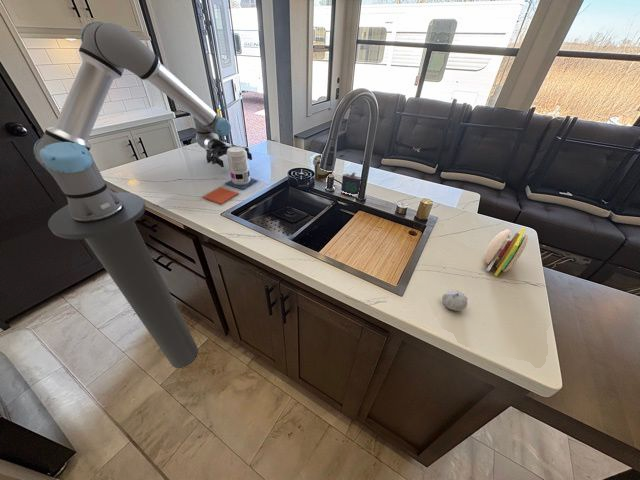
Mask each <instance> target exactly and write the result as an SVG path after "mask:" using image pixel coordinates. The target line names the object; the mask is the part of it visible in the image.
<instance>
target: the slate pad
mask: <svg viewBox="0 0 640 480" xmlns="http://www.w3.org/2000/svg"><path fill="white" fill-rule="evenodd" d="M257 182H258V180H257V179H254V178H251V177H250V181H249V183H247V184H245V185H236V184H234V183H233V182H232V179H230V180H229V181H226V183H224V184H225V185H227V186H229V187H233V188H235V189H239V190H243V191H244V190H245V189H247V188H249V187H250V186H252V185H253V184H255V183H257Z"/></svg>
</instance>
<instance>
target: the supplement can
mask: <svg viewBox="0 0 640 480" xmlns="http://www.w3.org/2000/svg"><path fill="white" fill-rule="evenodd" d="M243 147H244V146H241V147H240V145H236V146H234V147H231V146H230V148H228V149H227V155H226V158H227V162H228V167H229V168H228V169H229V174H230V178H231V179H230V180H232V182H233V183H234V184H236V185H245V184H247V183H249V181H250V178H251V174H250V167H249V159H248V158H247V152H246V150H245V149H244V148H243Z"/></svg>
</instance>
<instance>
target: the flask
mask: <svg viewBox="0 0 640 480" xmlns="http://www.w3.org/2000/svg"><path fill="white" fill-rule="evenodd" d="M356 174H357V173H356V172H352V173H351V174H350V173H344V174H343V175H342V180H341V188H340V195H343V196H345V197H350V198H353V197H352V195H349V194H345V193H342V192H341V190H342V191H344V192H347V193H351V194H358V192H359V188H360V181H361V177H362V176H357V175H356Z"/></svg>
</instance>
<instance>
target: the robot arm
mask: <svg viewBox="0 0 640 480" xmlns="http://www.w3.org/2000/svg"><path fill="white" fill-rule="evenodd" d="M80 41H81V44H80V46H79V49H78V51H77V53H78V55H79V57H80V59H81V62H80V64H79V67H78V69H77V71H76V74H75V77H74V79H73V82H72V83H71V86H70V88H69V91H68V94H67V95H66V98H65V101H64V103H63V105H62V107H61V110H60V112H59V115H58V117H57V120H56V122H55V125H54V126H51V127H46V128H45V130H44V132H43V135H42V137H41V138H39V139H38V140H37V141H36V142H35V143H34V145H33V155H34V157H35V160H36V161H37V163H39V165H41V166H42V167H43V168H44V169H45V170H46V171H47V172H48V173H49V174H50V175H51V177H52V178H53V179H54V180H55V182H56V183H57V185H58V186H59V188H60V190H61V192H63V194H64V195H65V197H66V199H67V205H69V211H70V215H71V216H72V218H73V219H74V220H75V221H77V222H81V223H91V222H98V221H102V220H105V219H108V218H111V217H113V216H115V215H116V214H118V213H119V212H121V211H122V209H123V207H124V205H123V203H122V201H121V200H120V199H119V198H118V197H117V196H116V195H115V194H114V193H115V192H114V191H113V190H111V189H110V188H109V186H108V185H107V183H106V181H105V179H104V177H103V176H102V173H101V172H100V170H99V168H98V166H97V164H96V162H95V160H94V157H93V155H92V153H91V152H90V150H91V148H92V146H91V143H89V141H88V140H89V137H90V136H91V133H92V131H93V129H94V126H95V124H96V121H97V119H98V117H99V114H100V112H101V109H102V108H103V105H104V103H105V101H106V98H107V95H108V94H109V91H110V89H111V87H112V84H113V81H114V80H116V79H121V78H122V75H123V73H124V71H125V70H127V71H129V72H130V73H132V74H134V75H135V76H136V77H138V78H139V79H140V80H142V81H148V82H149V83H150V84H151V85H153V86H154V87H156V89H158V90H159V91H160V92H162V93H163V94H164V95H165V96H167V97H168V98H170V100H171V101H173V102H174V103H175V104H177V105H178V106H180V107H181V108H182V109H183V110H185V111H186V112H187V113H188V114H190V115H191V116H192V119H193V122H194V126H195V131H196V134H195V141H196V143H197V144H198V145H199V147H201V148H203V149H205V153H206V156H205V158H206V162H207V164H210V163H211V164H212V165H216V164H217V165H218V166H219V167H221V168H224V167H225V165H224V161H223V160H222V159H221V158H220V157H223V156H224V155H225V156H227V149H228V148H230V147H234V146H237V145H236V144H231V145H230V146H229V145H227V144H226V143H225V142H224V141H222V140H221V139H219V138H217V137H216V136H215V135H217V136H221V137H227V136H228V135H229V134H230V133H231V131H232V125H231V122H230V121H229V120H228V119H227V118H225V117H222V116H220V115H219V114H218V113H217V112H216V111H215V110H214V109H212V107H210V106H209V105H208V104H207V103H205V101H204V100H202V99H201V98H200V96H198V95H197V94H196V93H194V91H193V90H191V89H190V88H189V87H188V86H187V85H186V84H184V83H183V81H181V80H180V79H179V78H178V77H177V76H176V75H174V73H172V72H171V71H170V70H169V69H168V68H167V67H165V65H164V64H162V63H161V61H160V57H159V56H158V55H157V54H156V53H155V52H153V50H151V48H149V47H148V46H147V45H146V44H145V43H144V42H143V41H142V40H141V39H139V38H138V37H137V36H136V35H135V34H134V33H133V32H132V31H130V30H128V29H127V28H125V27H124V26H122V25H121V24H117V23H113V22H102V21H92V22H89V23H87V24H86V25H85V26H83V28H82V29H81V32H80ZM239 146H240V145H239ZM240 147H243V148H244V149H245V150H246V152H247V159H248V160H250V161H252V160H253V155H252V152H250V149H249V147H246V146H240Z"/></svg>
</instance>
